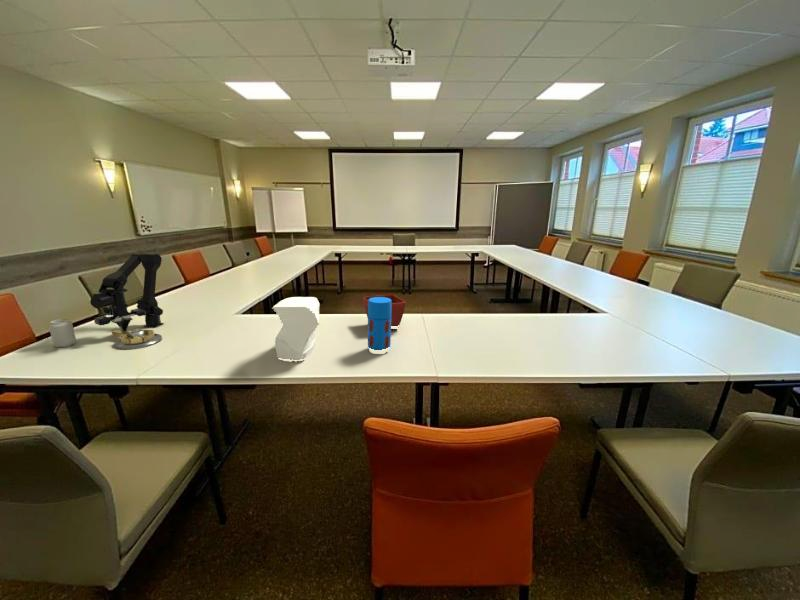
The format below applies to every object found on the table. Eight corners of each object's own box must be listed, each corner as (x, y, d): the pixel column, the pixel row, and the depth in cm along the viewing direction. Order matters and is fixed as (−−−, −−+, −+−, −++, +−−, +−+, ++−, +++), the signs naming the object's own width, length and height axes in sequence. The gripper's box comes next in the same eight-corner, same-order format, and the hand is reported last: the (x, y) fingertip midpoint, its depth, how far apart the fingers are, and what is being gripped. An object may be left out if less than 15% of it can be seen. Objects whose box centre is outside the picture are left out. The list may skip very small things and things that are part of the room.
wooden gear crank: (160, 336, 162) (159, 329, 161) (136, 345, 151) (134, 338, 150) (127, 331, 167) (126, 325, 166) (101, 340, 156) (100, 333, 155)
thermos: (378, 356, 151) (379, 304, 144) (363, 350, 158) (363, 299, 151) (394, 350, 159) (396, 300, 152) (379, 343, 166) (380, 295, 159)
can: (62, 349, 148) (56, 323, 145) (49, 347, 150) (43, 322, 147) (81, 342, 156) (75, 318, 152) (68, 341, 157) (62, 317, 154)
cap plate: (137, 334, 168) (135, 324, 166) (171, 336, 166) (169, 326, 165) (104, 348, 150) (101, 337, 149) (141, 350, 149) (139, 339, 148)
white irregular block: (266, 364, 140) (261, 306, 133) (293, 340, 166) (290, 291, 159) (314, 368, 138) (312, 309, 131) (334, 344, 164) (333, 293, 157)
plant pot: (362, 323, 194) (362, 296, 190) (392, 320, 201) (393, 294, 197) (372, 335, 177) (373, 305, 173) (405, 331, 184) (406, 302, 180)
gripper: (131, 295, 170) (137, 324, 174) (85, 304, 154) (93, 335, 158) (143, 299, 165) (149, 328, 169) (96, 308, 149) (104, 340, 153)
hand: (124, 332), depth 162 cm, fingers closed
